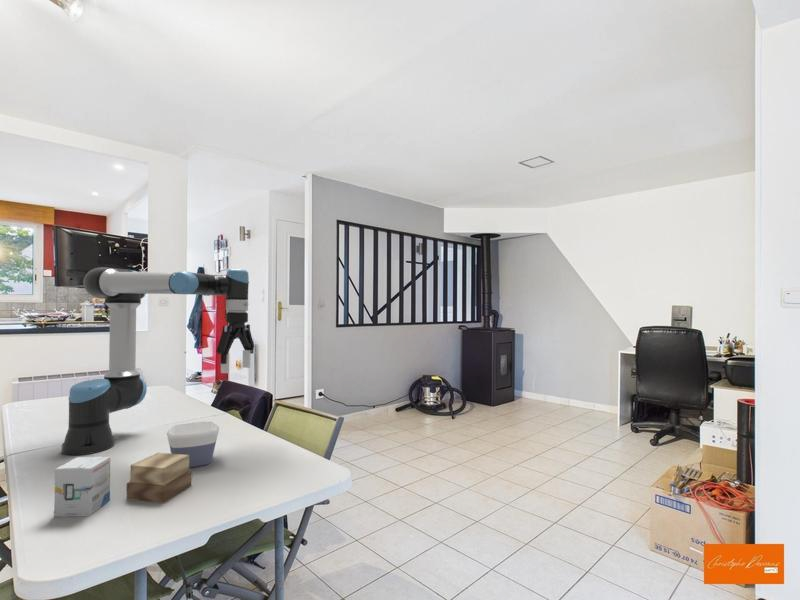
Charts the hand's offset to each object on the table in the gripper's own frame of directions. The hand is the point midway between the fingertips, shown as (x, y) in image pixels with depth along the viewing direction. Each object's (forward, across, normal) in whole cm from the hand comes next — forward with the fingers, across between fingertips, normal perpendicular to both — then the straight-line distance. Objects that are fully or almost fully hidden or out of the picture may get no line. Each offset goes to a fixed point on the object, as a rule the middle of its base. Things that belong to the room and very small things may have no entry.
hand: (235, 370), depth 155 cm
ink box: (+28, -51, +10) cm, 59 cm away
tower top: (+24, -38, -2) cm, 45 cm away
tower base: (+28, -38, -2) cm, 47 cm away
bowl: (+28, -16, +5) cm, 33 cm away
